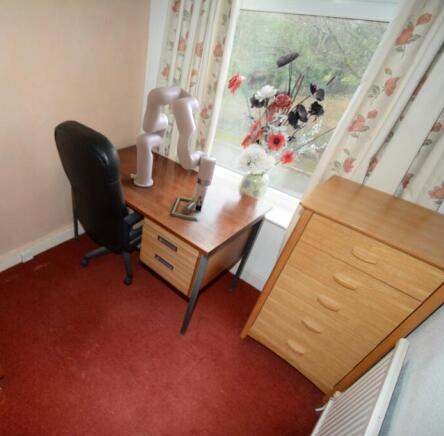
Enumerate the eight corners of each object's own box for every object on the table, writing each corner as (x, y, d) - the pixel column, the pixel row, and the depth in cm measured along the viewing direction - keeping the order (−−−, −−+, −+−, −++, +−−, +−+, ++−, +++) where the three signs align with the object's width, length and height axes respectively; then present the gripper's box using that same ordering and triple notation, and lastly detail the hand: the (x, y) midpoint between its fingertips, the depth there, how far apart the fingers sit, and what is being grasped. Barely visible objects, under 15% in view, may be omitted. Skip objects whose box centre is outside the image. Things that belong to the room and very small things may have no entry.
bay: (171, 215, 146) (171, 213, 145) (178, 198, 160) (178, 196, 159) (196, 221, 142) (196, 218, 141) (201, 203, 157) (201, 200, 156)
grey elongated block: (187, 215, 147) (188, 209, 144) (182, 212, 148) (184, 207, 145) (195, 204, 155) (197, 199, 152) (191, 202, 156) (193, 197, 153)
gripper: (199, 173, 145) (193, 202, 156) (194, 185, 134) (188, 216, 144) (213, 175, 144) (206, 205, 154) (209, 188, 132) (202, 219, 143)
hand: (197, 210), depth 149 cm, fingers closed
